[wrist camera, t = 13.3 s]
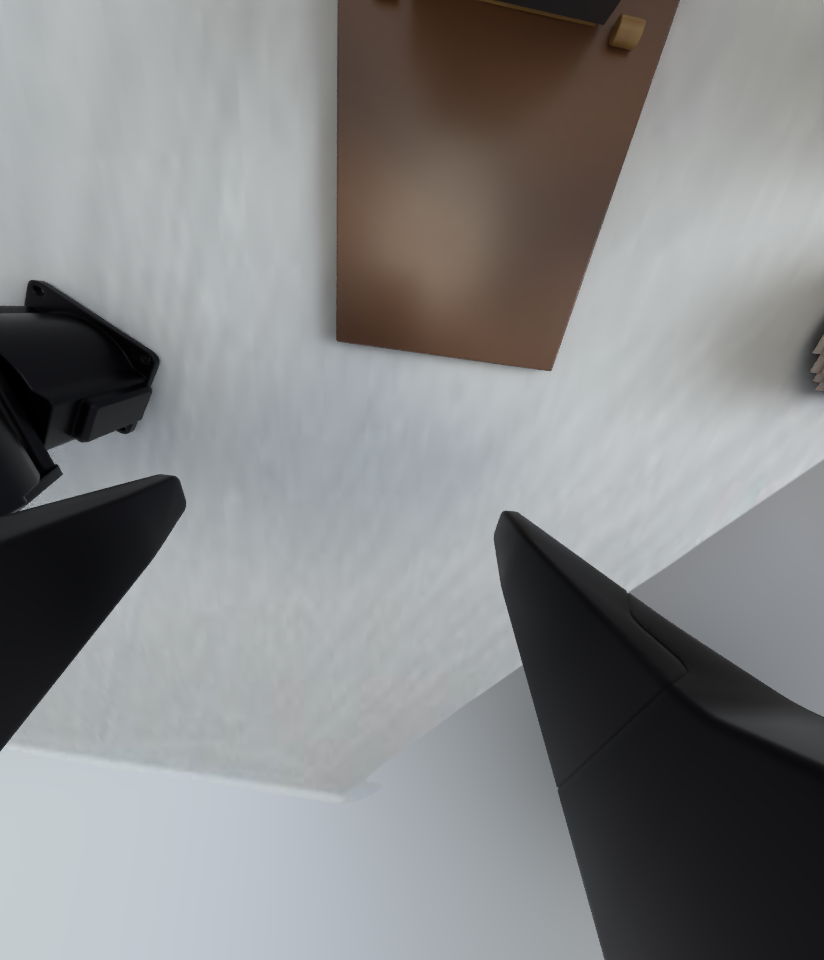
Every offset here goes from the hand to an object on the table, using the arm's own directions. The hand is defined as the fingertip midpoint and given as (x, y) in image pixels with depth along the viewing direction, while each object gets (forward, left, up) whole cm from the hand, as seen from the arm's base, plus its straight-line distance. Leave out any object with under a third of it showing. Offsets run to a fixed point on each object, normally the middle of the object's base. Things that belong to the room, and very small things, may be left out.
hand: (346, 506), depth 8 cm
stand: (-3, +11, -13) cm, 18 cm away
